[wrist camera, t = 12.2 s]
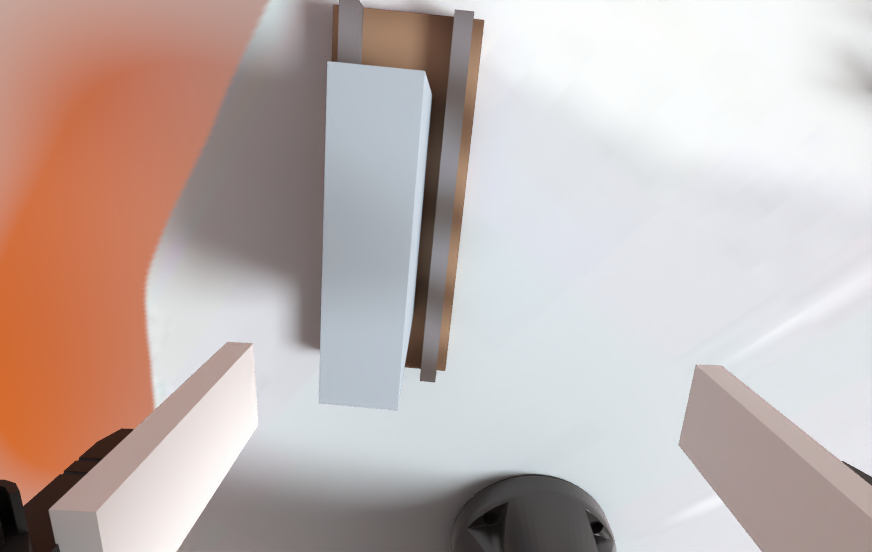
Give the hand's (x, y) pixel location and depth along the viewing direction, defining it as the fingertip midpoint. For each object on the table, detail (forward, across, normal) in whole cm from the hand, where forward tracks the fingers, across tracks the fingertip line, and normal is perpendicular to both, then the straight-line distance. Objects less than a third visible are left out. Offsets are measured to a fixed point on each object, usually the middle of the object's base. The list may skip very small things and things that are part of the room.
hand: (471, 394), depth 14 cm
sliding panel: (+22, +4, -2) cm, 23 cm away
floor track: (+24, +4, -2) cm, 25 cm away
